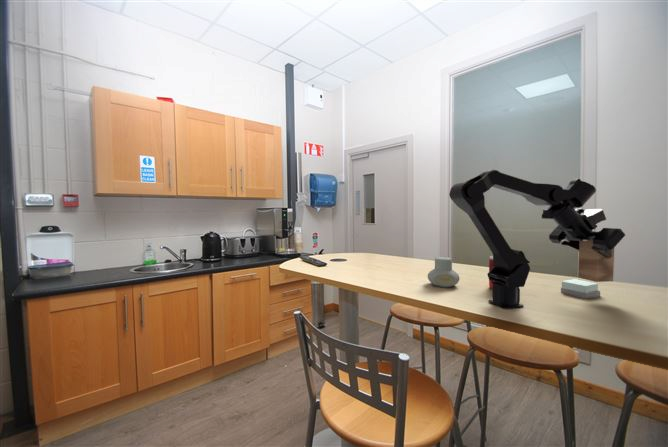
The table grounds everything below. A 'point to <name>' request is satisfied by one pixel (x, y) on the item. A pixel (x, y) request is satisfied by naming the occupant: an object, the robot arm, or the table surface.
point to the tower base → (580, 293)
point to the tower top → (580, 285)
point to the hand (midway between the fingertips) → (600, 255)
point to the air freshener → (443, 273)
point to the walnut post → (594, 263)
